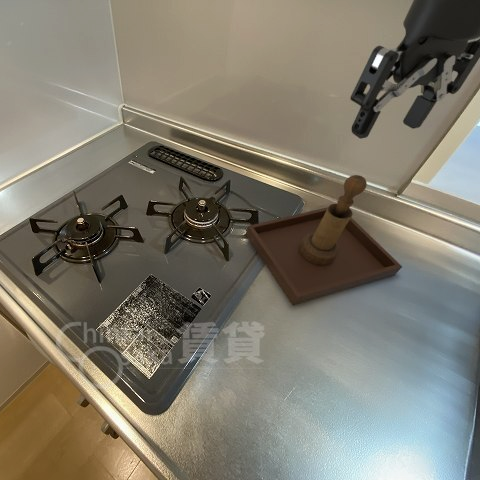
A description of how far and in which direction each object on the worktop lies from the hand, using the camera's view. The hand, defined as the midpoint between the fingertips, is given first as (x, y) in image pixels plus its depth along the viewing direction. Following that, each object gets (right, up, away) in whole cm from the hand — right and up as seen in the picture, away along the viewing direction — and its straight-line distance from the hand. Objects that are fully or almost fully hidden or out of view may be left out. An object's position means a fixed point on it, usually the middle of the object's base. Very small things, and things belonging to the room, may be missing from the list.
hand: (384, 130), depth 42 cm
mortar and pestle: (0, -17, +19) cm, 26 cm away
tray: (0, -18, +20) cm, 27 cm away
